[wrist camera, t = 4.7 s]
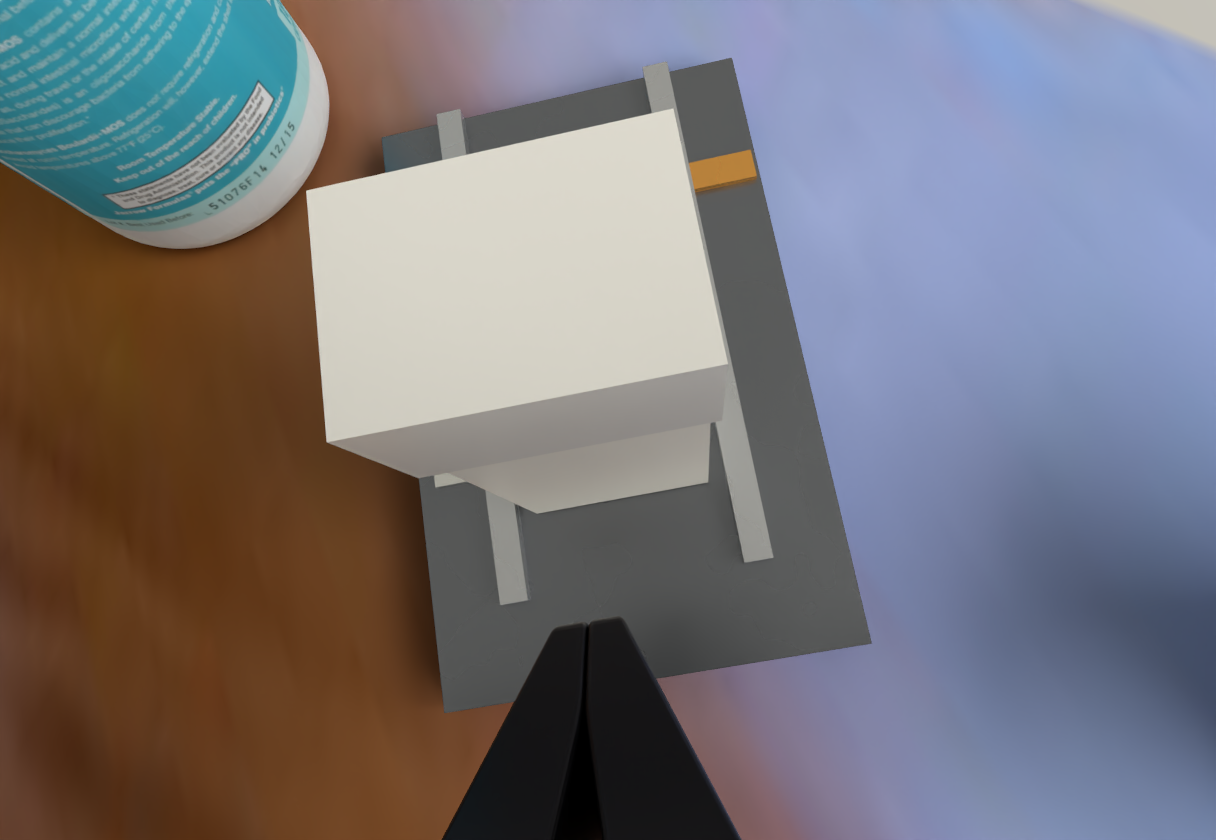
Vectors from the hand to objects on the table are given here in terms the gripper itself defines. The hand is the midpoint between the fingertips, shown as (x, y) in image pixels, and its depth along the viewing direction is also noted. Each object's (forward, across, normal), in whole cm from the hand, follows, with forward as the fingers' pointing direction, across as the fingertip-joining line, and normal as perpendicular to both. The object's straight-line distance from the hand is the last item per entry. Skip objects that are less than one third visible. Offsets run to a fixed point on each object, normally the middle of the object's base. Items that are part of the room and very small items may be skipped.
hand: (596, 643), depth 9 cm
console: (+10, 0, +2) cm, 10 cm away
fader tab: (+8, 0, +2) cm, 8 cm away
